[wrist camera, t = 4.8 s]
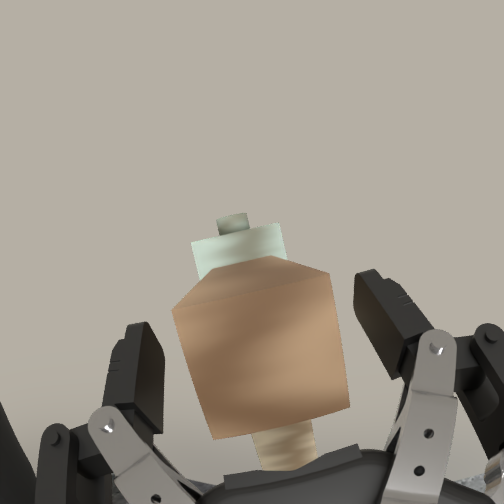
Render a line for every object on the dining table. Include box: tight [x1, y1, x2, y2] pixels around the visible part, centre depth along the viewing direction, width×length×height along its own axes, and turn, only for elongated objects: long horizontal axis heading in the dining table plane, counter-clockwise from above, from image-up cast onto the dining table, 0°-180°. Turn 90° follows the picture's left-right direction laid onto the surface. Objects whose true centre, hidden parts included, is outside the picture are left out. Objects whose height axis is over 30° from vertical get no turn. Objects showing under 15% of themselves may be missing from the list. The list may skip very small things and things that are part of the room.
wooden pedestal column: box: [251, 419, 318, 471], centre depth 22 cm, size 7×10×32 cm
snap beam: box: [172, 213, 350, 440], centre depth 17 cm, size 6×19×7 cm, turn 4°
